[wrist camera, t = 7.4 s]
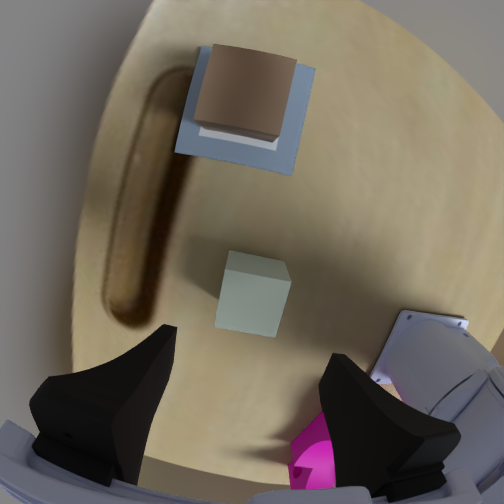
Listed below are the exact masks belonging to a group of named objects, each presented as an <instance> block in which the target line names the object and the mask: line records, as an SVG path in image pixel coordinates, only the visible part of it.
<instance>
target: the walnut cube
mask: <svg viewBox="0 0 504 504" xmlns="http://www.w3.org/2000/svg"><path fill="white" fill-rule="evenodd" d="M296 62H297V60H296V59H292V58H288V57H284V56H280V55H275V54H271V53H266V52H261V51H256V50H250V49H245V48H239V47H232V46H226V45H218V44H213V48H212V51H211V54H210V58H209V61H208V65H207V68H206V72H205V75H204V79H203V83H202V87H201V90H200V94H199V98H198V102H197V106H196V110H195V114H194V120H195V121H196V122H197V123H198V124H200V125H201V126H202V127H203V128H204V129H206V130H212V131H218V132H223V133H228V134H234V135H239V136H244V137H249V138H253V139H258V140H262V141H267V142H271V143H273V142H274V141H275V140H276V139H277V138H278V137H279V136H280V132H281V128H282V123H283V119H284V115H285V110H286V106H287V102H288V97H289V93H290V89H291V84H292V80H293V75H294V71H295V67H296Z"/></svg>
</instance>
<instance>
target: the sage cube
mask: <svg viewBox="0 0 504 504" xmlns="http://www.w3.org/2000/svg"><path fill="white" fill-rule="evenodd" d="M291 283H292V282H291V279H290V276H289V273H288V271H287V268H286V265H285V262H284V261H281V260H276V259H271V258H266V257H261V256H256V255H251V254H246V253H241V252H236V251H231V250H229V253H228V258H227V262H226V267H225V272H224V277H223V282H222V287H221V293H220V298H219V303H218V308H217V314H216V319H215V324H214V327H218V328H223V329H228V330H233V331H239V332H244V333H250V334H256V335H262V336H268V337H274V338H275V337H276V334H277V330H278V327H279V324H280V321H281V317H282V314H283V310H284V307H285V304H286V300H287V297H288V293H289V290H290V286H291Z"/></svg>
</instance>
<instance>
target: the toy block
mask: <svg viewBox="0 0 504 504" xmlns="http://www.w3.org/2000/svg"><path fill="white" fill-rule="evenodd" d="M291 447H292V454H293V461H292V462H291V463H290V464H288V470H289V479H290V486H291V490H296V489H324V488H333V485H334V482H335V480H336V478H335V465H334V456H333V449H332V443H331V438H330V435H329V431H328V428H327V424H326V421H325V417H324V413H323V411H322V412H321V413H320V414H319V415H318V416H317V417H316V418H315V419H314V420H313V421H312V423H311V424H310V425H309V426H308V427H307V428H306V429H305V430H304V431H303V432H302V433H301V434H300V435H299V436H298V437H296V438H295V439H294V440H293V441H292V442H291Z"/></svg>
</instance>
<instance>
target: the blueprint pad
mask: <svg viewBox="0 0 504 504" xmlns="http://www.w3.org/2000/svg"><path fill="white" fill-rule="evenodd" d="M212 48H213V47H205V46H202V47H201V50H200V53H199V56H198V60H197V63H196V67H195V70H194V74H193V77H192V81H191V85H190V88H189V92H188V96H187V100H186V104H185V108H184V112H183V116H182V120H181V125H180V129H179V134H178V138H177V143H176V147H175V152H176V153H182V154H188V155H194V156H200V157H205V158H211V159H216V160H221V161H226V162H231V163H236V164H241V165H246V166H251V167H255V168H260V169H264V170H269V171H273V172H277V173H282V174H286V175H290V176H292V172H293V167H294V163H295V159H296V154H297V150H298V146H299V141H300V137H301V133H302V128H303V124H304V119H305V115H306V110H307V106H308V101H309V97H310V92H311V87H312V83H313V78H314V74H315V68H312V67H308V66H305V65H301V64H297V63H296V67H295V71H294V75H293V80H292V84H291V89H290V93H289V97H288V102H287V106H286V110H285V115H284V119H283V123H282V128H281V132H280V136H279V137H278V138H277V139H276V140H275V141H274V142H273V143H271V142H267V141H262V140H258V139H253V138H249V137H244V136H239V135H234V134H228V133H223V132H218V131H212V130H206V129H204V128H203V127H202V126H201V125H200V124H198V123H197V122H196V121H195V120H194V114H195V110H196V106H197V102H198V98H199V94H200V90H201V87H202V83H203V79H204V75H205V72H206V68H207V65H208V61H209V58H210V54H211V51H212Z"/></svg>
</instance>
